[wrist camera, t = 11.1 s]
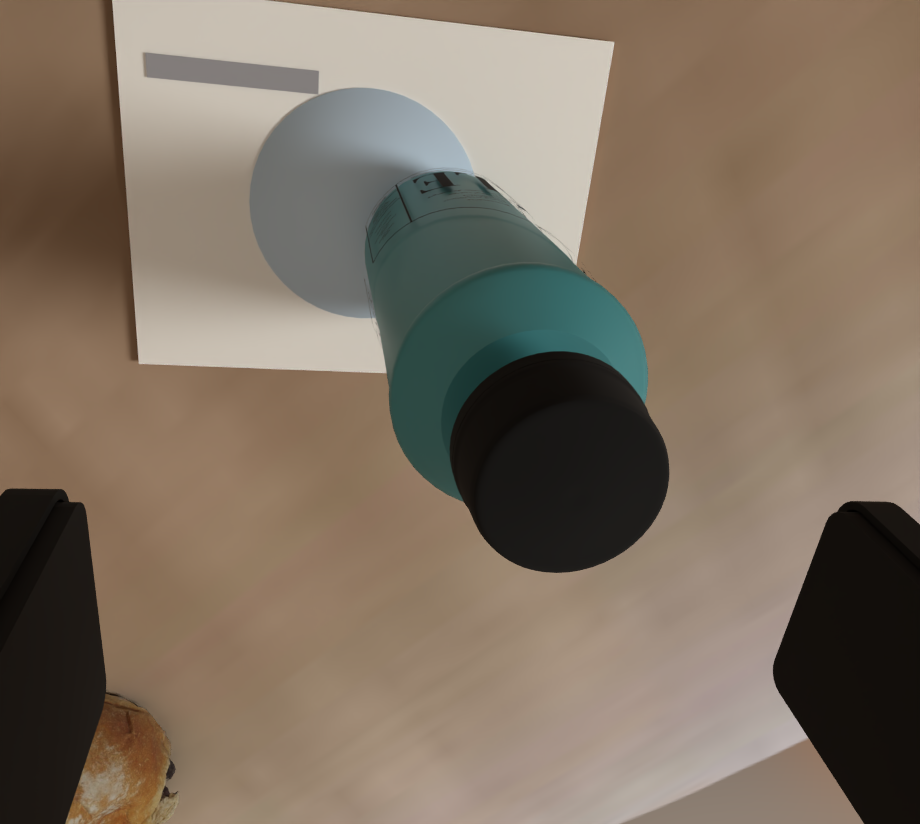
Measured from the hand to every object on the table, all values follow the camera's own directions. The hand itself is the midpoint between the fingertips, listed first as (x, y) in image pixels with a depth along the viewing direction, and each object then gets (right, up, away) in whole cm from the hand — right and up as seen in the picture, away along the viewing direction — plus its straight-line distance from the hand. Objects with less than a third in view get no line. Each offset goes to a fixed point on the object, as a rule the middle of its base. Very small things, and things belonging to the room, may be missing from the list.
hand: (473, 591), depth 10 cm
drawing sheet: (-4, +10, +22) cm, 24 cm away
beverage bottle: (-1, +9, +23) cm, 24 cm away
